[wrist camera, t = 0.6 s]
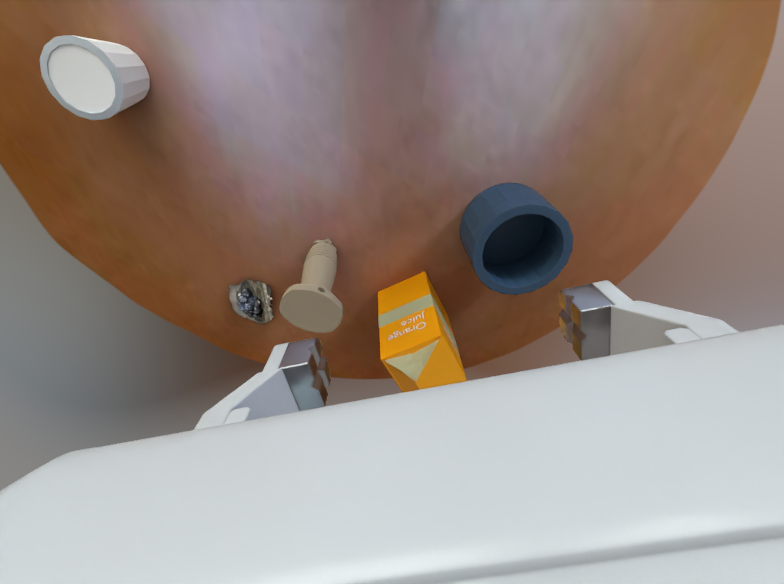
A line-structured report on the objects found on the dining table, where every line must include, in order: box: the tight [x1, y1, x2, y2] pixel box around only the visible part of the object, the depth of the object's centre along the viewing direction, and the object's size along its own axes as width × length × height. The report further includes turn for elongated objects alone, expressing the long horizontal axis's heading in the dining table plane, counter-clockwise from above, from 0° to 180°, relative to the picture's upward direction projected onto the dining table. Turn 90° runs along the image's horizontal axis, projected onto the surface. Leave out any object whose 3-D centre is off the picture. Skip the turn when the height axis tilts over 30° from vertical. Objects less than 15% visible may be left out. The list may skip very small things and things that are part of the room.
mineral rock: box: [228, 279, 273, 324], centre depth 57 cm, size 7×8×2 cm
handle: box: [280, 239, 343, 332], centre depth 48 cm, size 5×6×15 cm
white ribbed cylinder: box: [40, 35, 150, 120], centre depth 40 cm, size 7×7×7 cm
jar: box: [460, 183, 573, 295], centre depth 51 cm, size 12×12×8 cm
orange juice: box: [378, 271, 467, 393], centre depth 51 cm, size 8×9×20 cm
